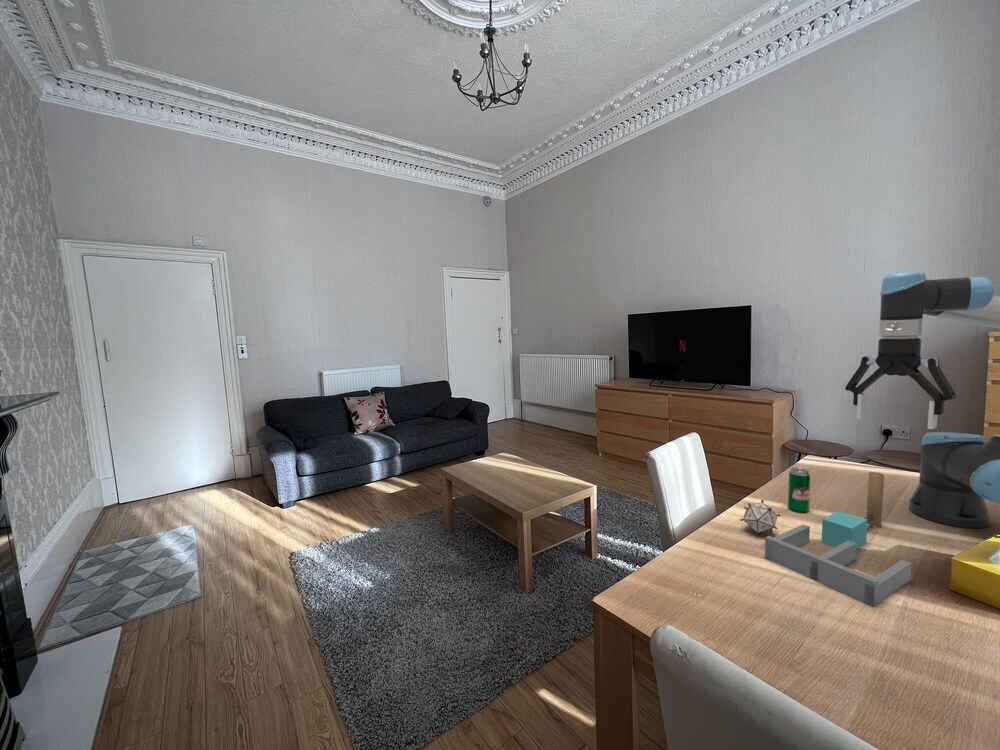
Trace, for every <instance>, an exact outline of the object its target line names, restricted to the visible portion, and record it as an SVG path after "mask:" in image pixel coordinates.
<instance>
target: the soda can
mask: <svg viewBox="0 0 1000 750" xmlns="http://www.w3.org/2000/svg"><path fill="white" fill-rule="evenodd" d="M787 489H788V491H787V495H788V496H787V507H788V508H789V510H792V511H793V512H795V513H807V512H808V511H809V510H810V499H811V498H810V492H811V473H810V472H809V469H806V468H804V467H791V468H790V470H789V471H788V488H787Z"/></svg>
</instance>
